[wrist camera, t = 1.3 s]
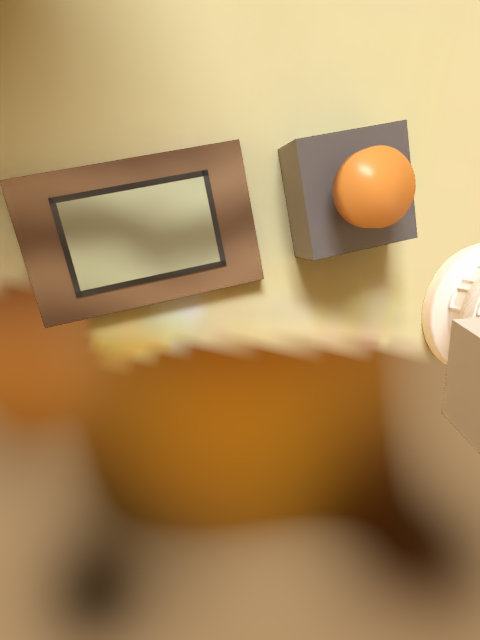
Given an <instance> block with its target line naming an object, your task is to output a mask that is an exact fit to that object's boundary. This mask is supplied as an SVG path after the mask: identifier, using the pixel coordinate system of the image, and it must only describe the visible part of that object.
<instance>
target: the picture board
mask: <svg viewBox="0 0 480 640" xmlns="http://www.w3.org/2000/svg"><path fill="white" fill-rule="evenodd" d="M0 184H1V187H2V190H3V194H4V197H5V200H6V203H7V207H8V210H9V213H10V216H11V220H12V223H13V226H14V229H15V232H16V236H17V239H18V242H19V245H20V249H21V252H22V255H23V258H24V262H25V265H26V268H27V271H28V275H29V278H30V281H31V284H32V288H33V291H34V294H35V297H36V301H37V304H38V307H39V310H40V314H41V317H42V320H43V323H44V326H45V328H48V327H52V326H57V325H61V324H65V323H70V322H74V321H79V320H83V319H88V318H92V317H97V316H101V315H106V314H110V313H114V312H119V311H123V310H128V309H132V308H137V307H141V306H146V305H150V304H154V303H159V302H163V301H168V300H172V299H177V298H181V297H186V296H190V295H195V294H199V293H203V292H208V291H212V290H217V289H221V288H226V287H230V286H235V285H239V284H243V283H248V282H252V281H257V280H261V279H264V277H263V271H262V265H261V260H260V254H259V249H258V243H257V237H256V232H255V226H254V221H253V215H252V210H251V204H250V198H249V193H248V187H247V182H246V176H245V170H244V165H243V159H242V154H241V148H240V143H239V139H238V140H232V141H227V142H221V143H215V144H209V145H203V146H197V147H192V148H186V149H180V150H174V151H168V152H162V153H157V154H151V155H145V156H139V157H133V158H127V159H122V160H116V161H110V162H104V163H98V164H92V165H87V166H81V167H75V168H69V169H63V170H57V171H52V172H46V173H40V174H34V175H28V176H22V177H17V178H11V179H5V180H0Z"/></svg>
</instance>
